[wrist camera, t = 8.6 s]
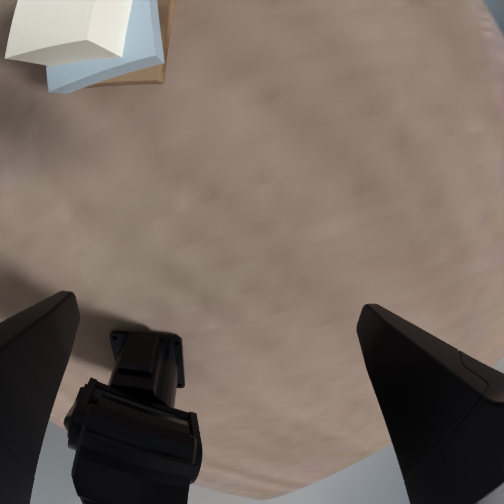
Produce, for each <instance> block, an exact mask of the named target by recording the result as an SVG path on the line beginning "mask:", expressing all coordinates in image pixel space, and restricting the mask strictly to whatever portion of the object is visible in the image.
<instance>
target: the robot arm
mask: <svg viewBox="0 0 504 504" xmlns="http://www.w3.org/2000/svg"><path fill="white" fill-rule="evenodd" d="M79 321H80V314H79V309H78V305H77V301H76V297H75V294H74V293H73V292H70V291H60V292H58V293H56V294H54V295H52V296H51V297H49V298H47V299H45V300H43V301H41V302H39V303H37V304H35V305H33V306H31V307H29V308H27V309H25V310H23V311H21V312H19V313H18V314H16V315H14V316H12V317H10V318H8V319H6V320H4V321H3V322H1V323H0V504H30V499H31V493H32V488H33V483H34V478H35V477H34V475H35V472H36V467H37V463H38V458H39V455H40V450H41V447H42V443H43V439H44V435H45V431H46V428H47V424H48V421H49V418H50V414H51V411H52V408H53V405H54V402H55V398H56V395H57V392H58V389H59V386H60V384H61V381H62V378H63V375H64V372H65V369H66V367H67V364H68V361H69V357H70V354H71V350H72V346H73V342H74V339H75V335H76V332H77V328H78V325H79ZM357 334H358V338H359V342H360V346H361V350H362V353H363V357H364V361H365V365H366V369H367V372H368V375H369V378H370V380H371V383H372V386H373V388H374V391H375V394H376V397H377V400H378V402H379V405H380V408H381V411H382V414H383V417H384V420H385V423H386V426H387V428H388V431H389V434H390V438H391V441H392V444H393V447H394V450H395V453H396V456H397V459H398V462H399V466H400V469H401V472H402V476H403V479H404V483H405V486H406V490H407V494H408V497H409V501H410V504H504V374H503V373H501V372H499V371H497V370H495V369H493V368H491V367H489V366H487V365H485V364H483V363H481V362H479V361H478V360H476V359H474V358H472V357H470V356H468V355H467V354H465V353H463V352H461V351H458V349H456V348H454V347H453V346H451V345H449V344H447V343H446V342H444V341H442V340H440V339H439V338H437V337H435V336H433V335H431V334H430V333H428V332H426V331H424V330H423V329H421V328H419V327H417V326H415V325H414V324H412V323H410V322H408V321H407V320H405V319H403V318H401V317H399V316H398V315H396V314H394V313H392V312H390V311H389V310H387V309H385V308H383V307H381V306H380V305H378V304H365V305H364V306H363V308H362V311H361V314H360V317H359V320H358V323H357ZM115 336H116V337H115ZM110 341H111V346H112V350H113V354H114V358H115V365H114V368H113V371H112V374H111V377H110V380H109V383H108V385H105V384H103V383H100V382H98V381H97V380H96V379H93V378H90V380H89V382H88V384H85V386H84V387H80V390H79V393H78V395H77V398H76V400H75V402H74V404H73V406H72V407H71V409H70V410H69V412H68V414H67V415H66V417H65V419H64V426H65V428H66V430H67V431H68V436H67V437H68V438H69V440H68V447H69V448H71V449H73V450H76V454H75V458H74V463H73V468H72V474H71V475H72V479H73V483H74V486H75V489H76V492H77V495H78V496H79V497H80V499H81V501H82V503H83V504H187V501H188V491H189V485H190V484H192V483H194V481H195V480H196V478H197V476H198V474H199V471H200V467H201V462H202V443H201V437H200V432H199V426H198V420H197V414H196V413H193V412H185V411H182V410H178V409H175V408H174V405H175V396H176V388H183V387H184V386H185V376H184V362H183V345H182V339H181V338H180V337H179V336H170V335H157V334H145V333H134V332H124V331H111V333H110ZM174 341H177V343H176V342H174ZM179 383H180V384H179Z"/></svg>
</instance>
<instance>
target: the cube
mask: <svg viewBox="0 0 504 504" xmlns="http://www.w3.org/2000/svg"><path fill="white" fill-rule="evenodd" d="M132 2H133V0H18V2H17V5H16V9H15V13H14V17H13V21H12V25H11V29H10V33H9V38H8V43H7V48H6V54H5V59H11V60H18V61H24V62H30V63H35V64H41V65H46V66H51V67H52V66H57V65H63V64H69V63H76V62H83V61H91V60H100V59H111V58H122V55H123V49H124V43H125V37H126V31H127V26H128V21H129V16H130V11H131V6H132Z"/></svg>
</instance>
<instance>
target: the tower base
mask: <svg viewBox="0 0 504 504" xmlns="http://www.w3.org/2000/svg"><path fill="white" fill-rule="evenodd" d="M175 2H176V0H157V4H158V13H159V22H160V31H161V39H162V47H163V54H164V62H165V63H164V64H159V65H155V66H151V67H148V68H144V69H140V70H136V71H133V72H129V73H126V74H123V75H119V76H116V77H113V78H110V79H107V80H104V81H101V82H98V83H95V84H92V85H90V86H87V87H84V88H90V87H101V86H114V85H132V84H164V77H165V68H166V60H167V52H168V45H169V38H170V32H171V25H172V19H173V14H174V8H175Z"/></svg>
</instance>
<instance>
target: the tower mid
mask: <svg viewBox="0 0 504 504" xmlns="http://www.w3.org/2000/svg"><path fill="white" fill-rule="evenodd" d="M164 63H165V62H164V54H163V47H162V39H161V31H160V22H159V13H158V4H157V0H133V2H132V6H131V11H130V16H129V21H128V26H127V31H126V37H125V43H124V49H123V55H122V58H111V59H100V60H91V61H83V62H76V63H69V64H63V65H57V66H52V67H51V66H46V71H47V82H48V91H49V92H50V93H65V94H69V93H71V92H74V91H76V90H79V89H82V88H84V87H87V86H90V85H92V84H95V83H98V82H101V81H104V80H107V79H110V78H113V77H116V76H119V75H123V74H126V73H129V72H133V71H136V70H140V69H144V68H148V67H151V66H155V65H159V64H164Z"/></svg>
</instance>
